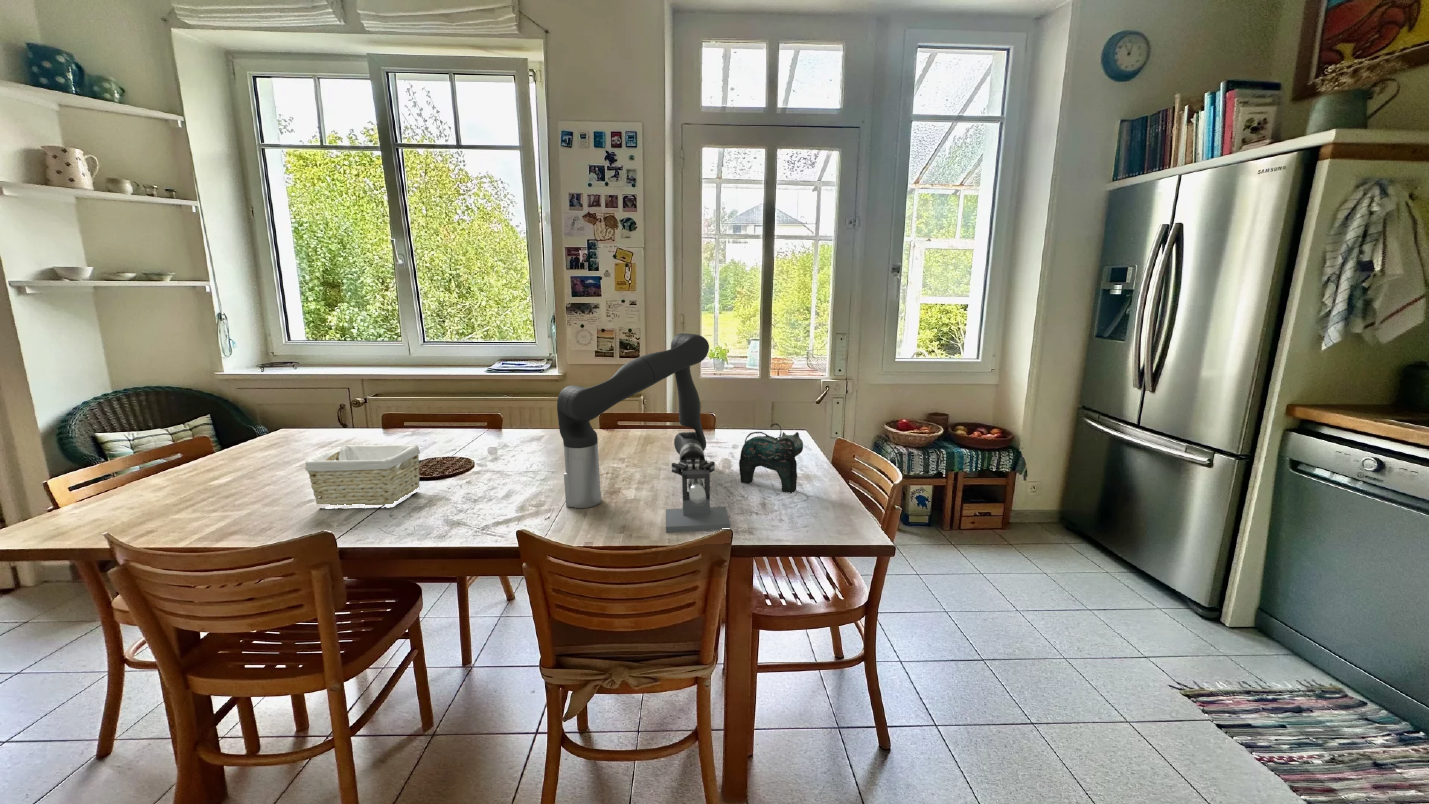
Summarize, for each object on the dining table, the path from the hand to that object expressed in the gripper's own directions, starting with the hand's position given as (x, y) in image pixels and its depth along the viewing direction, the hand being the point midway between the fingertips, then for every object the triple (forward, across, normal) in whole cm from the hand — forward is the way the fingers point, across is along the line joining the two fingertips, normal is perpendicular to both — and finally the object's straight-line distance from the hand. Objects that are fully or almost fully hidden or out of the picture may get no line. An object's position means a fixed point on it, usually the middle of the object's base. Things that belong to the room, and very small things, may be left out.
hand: (694, 477), depth 146 cm
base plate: (+9, 0, +9) cm, 12 cm away
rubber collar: (+6, 0, +3) cm, 7 cm away
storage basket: (-16, -93, +9) cm, 95 cm away
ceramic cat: (-14, +23, +9) cm, 28 cm away
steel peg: (+10, 0, +2) cm, 10 cm away
